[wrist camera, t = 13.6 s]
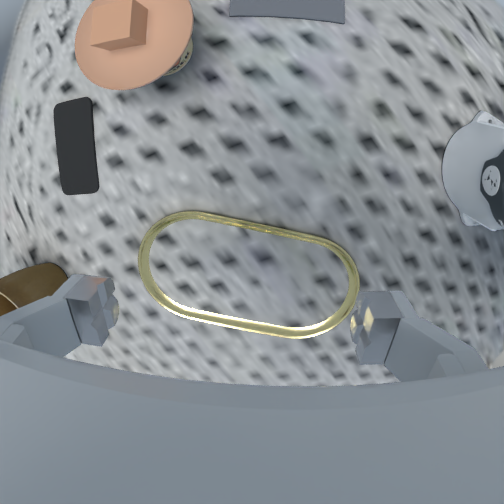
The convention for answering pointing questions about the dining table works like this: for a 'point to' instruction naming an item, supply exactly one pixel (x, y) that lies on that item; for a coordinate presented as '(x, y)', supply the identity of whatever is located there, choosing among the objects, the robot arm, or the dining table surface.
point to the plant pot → (29, 286)
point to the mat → (291, 9)
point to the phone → (76, 146)
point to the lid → (132, 40)
